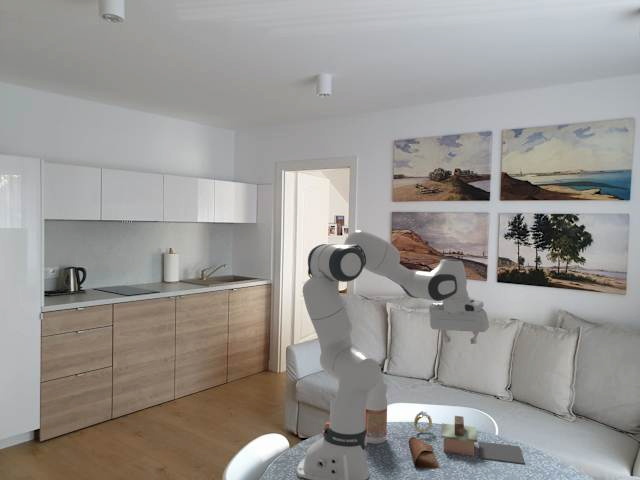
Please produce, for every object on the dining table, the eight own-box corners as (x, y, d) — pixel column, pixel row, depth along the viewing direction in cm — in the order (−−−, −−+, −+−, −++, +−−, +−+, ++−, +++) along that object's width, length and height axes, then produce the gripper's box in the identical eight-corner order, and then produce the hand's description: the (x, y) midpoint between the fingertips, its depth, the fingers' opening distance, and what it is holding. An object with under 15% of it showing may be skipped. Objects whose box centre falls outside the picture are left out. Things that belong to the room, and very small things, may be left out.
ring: (415, 434, 186) (416, 413, 186) (412, 431, 190) (412, 410, 190) (433, 433, 188) (433, 412, 188) (429, 430, 191) (430, 409, 191)
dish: (443, 451, 172) (444, 437, 172) (444, 440, 182) (444, 426, 182) (473, 455, 170) (474, 440, 170) (472, 443, 179) (473, 430, 179)
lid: (441, 437, 171) (441, 424, 171) (441, 425, 183) (442, 412, 183) (477, 442, 168) (477, 428, 168) (475, 429, 180) (476, 416, 180)
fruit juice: (378, 446, 175) (380, 367, 175) (355, 440, 180) (357, 363, 180) (390, 438, 183) (392, 362, 183) (368, 432, 188) (370, 358, 188)
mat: (480, 458, 167) (480, 457, 167) (478, 442, 181) (478, 441, 181) (525, 464, 164) (525, 463, 164) (519, 447, 177) (519, 446, 177)
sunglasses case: (441, 468, 159) (431, 450, 159) (422, 479, 159) (411, 460, 159) (432, 445, 177) (422, 429, 177) (414, 455, 177) (405, 438, 177)
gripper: (424, 305, 177) (429, 343, 178) (481, 307, 165) (486, 347, 166) (432, 301, 182) (436, 337, 183) (487, 302, 170) (492, 341, 171)
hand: (460, 342), depth 174 cm, fingers open, 8 cm apart
